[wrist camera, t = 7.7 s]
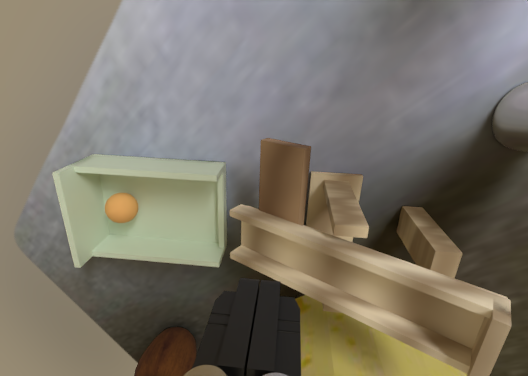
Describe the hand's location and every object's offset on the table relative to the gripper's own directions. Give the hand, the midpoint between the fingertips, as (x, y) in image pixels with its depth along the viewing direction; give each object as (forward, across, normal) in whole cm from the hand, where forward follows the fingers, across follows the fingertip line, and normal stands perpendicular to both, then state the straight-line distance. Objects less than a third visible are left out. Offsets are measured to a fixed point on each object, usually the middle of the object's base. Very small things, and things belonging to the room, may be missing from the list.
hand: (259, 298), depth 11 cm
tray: (+21, +13, +7) cm, 25 cm away
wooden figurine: (+21, +12, +27) cm, 36 cm away
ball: (+19, +16, +7) cm, 26 cm away
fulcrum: (+21, -9, +7) cm, 23 cm away
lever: (+12, -6, +3) cm, 14 cm away
